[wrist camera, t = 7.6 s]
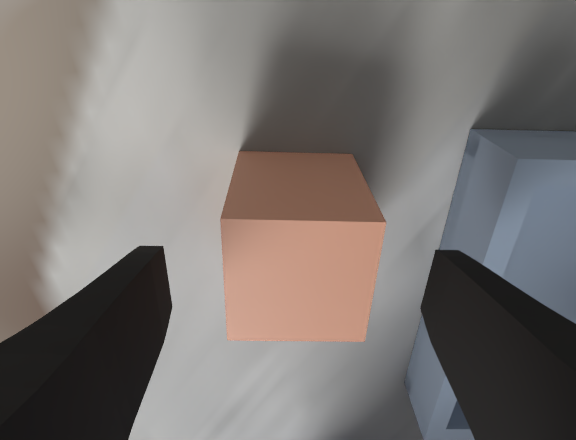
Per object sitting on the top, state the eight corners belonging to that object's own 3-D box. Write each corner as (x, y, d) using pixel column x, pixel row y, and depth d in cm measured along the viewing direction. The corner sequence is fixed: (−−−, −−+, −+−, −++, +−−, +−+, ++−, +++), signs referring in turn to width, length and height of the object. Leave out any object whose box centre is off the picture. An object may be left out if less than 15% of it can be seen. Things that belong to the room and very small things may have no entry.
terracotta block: (340, 248, 16) (364, 341, 11) (241, 246, 16) (227, 340, 11) (352, 153, 14) (386, 222, 9) (239, 150, 14) (220, 219, 9)
